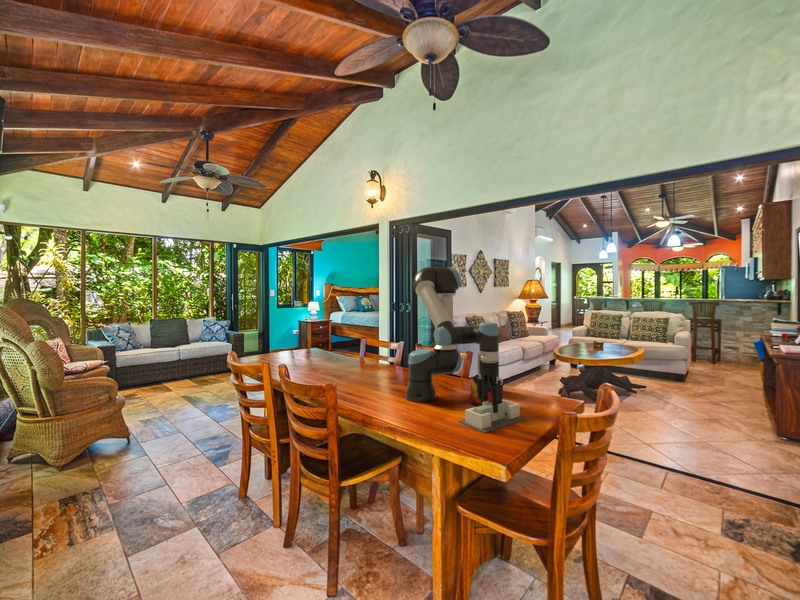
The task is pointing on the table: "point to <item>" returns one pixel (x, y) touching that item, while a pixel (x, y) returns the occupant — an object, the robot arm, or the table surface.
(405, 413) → the table surface
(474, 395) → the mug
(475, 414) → the cap
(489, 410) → the slat
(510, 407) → the cap
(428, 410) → the table surface
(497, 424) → the mat
